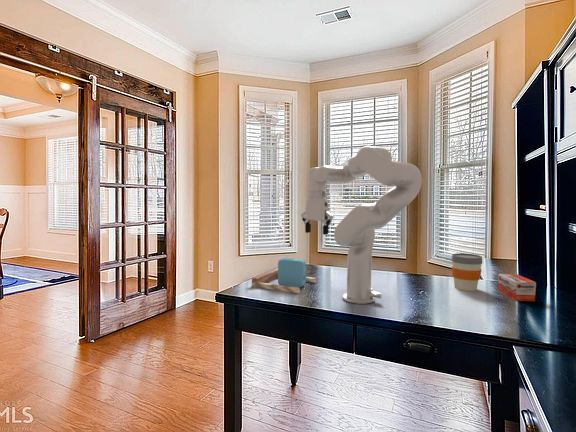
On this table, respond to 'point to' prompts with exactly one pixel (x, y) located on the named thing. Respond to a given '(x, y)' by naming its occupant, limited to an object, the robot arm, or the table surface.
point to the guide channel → (268, 276)
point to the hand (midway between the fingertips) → (316, 233)
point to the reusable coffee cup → (466, 271)
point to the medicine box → (517, 287)
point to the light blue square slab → (291, 272)
